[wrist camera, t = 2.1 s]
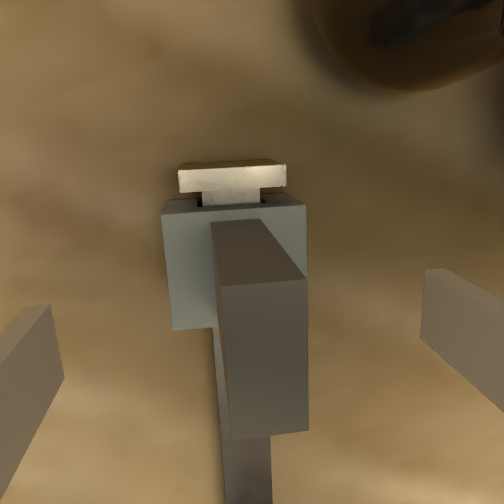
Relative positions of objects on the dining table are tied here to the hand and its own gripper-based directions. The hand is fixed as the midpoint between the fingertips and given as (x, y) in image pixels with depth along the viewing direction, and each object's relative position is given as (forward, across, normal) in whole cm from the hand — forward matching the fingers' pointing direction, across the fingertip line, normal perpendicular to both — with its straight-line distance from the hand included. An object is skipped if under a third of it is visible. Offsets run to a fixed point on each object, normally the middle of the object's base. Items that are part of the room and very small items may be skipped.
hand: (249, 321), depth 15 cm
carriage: (+11, 0, 0) cm, 11 cm away
